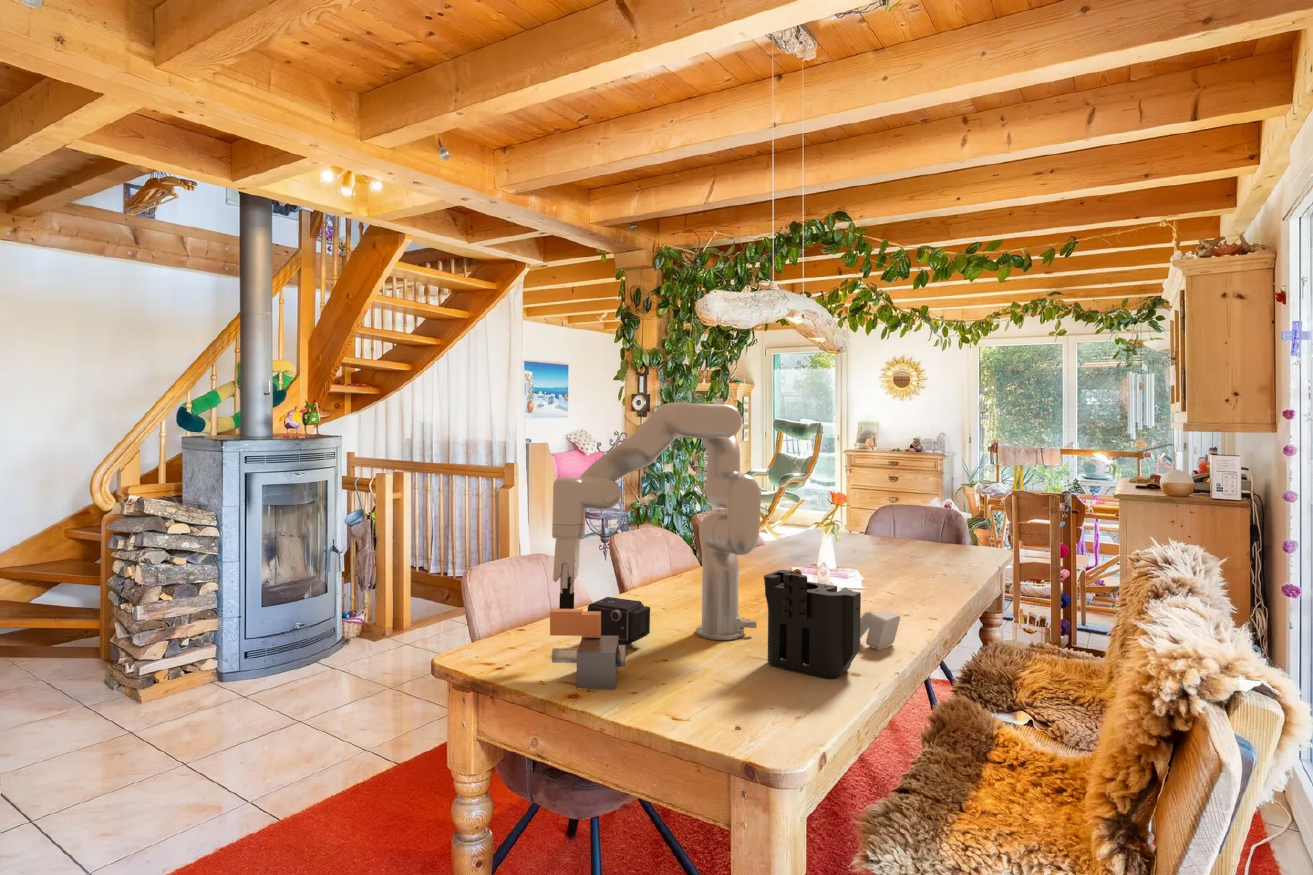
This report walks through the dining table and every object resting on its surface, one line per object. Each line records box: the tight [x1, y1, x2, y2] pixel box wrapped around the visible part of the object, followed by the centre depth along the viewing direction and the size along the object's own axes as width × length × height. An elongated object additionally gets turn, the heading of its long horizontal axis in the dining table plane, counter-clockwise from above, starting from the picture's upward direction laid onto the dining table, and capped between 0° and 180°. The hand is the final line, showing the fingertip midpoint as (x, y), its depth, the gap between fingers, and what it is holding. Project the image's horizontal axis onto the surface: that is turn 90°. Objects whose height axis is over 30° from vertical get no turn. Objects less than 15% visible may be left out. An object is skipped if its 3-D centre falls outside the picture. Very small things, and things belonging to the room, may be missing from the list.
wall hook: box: [860, 609, 901, 651], centre depth 184 cm, size 8×10×10 cm
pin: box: [551, 645, 627, 668], centre depth 158 cm, size 16×5×5 cm, turn 90°
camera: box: [587, 596, 651, 649], centre depth 182 cm, size 11×11×15 cm
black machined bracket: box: [763, 569, 862, 680], centre depth 164 cm, size 12×21×22 cm, turn 54°
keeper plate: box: [549, 608, 601, 638], centre depth 163 cm, size 11×3×6 cm, turn 90°
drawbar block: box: [576, 636, 619, 690], centre depth 158 cm, size 8×12×8 cm, turn 0°
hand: (566, 609), depth 170 cm, fingers closed
